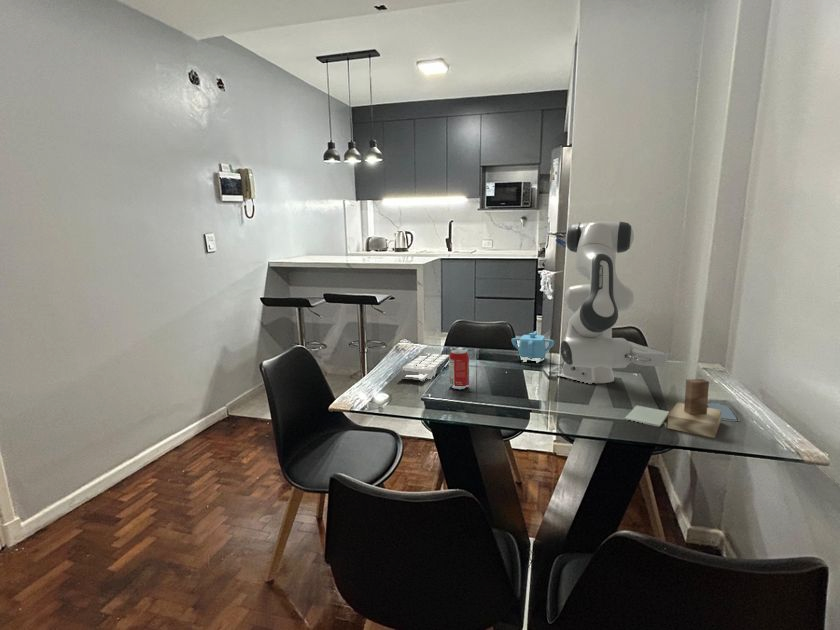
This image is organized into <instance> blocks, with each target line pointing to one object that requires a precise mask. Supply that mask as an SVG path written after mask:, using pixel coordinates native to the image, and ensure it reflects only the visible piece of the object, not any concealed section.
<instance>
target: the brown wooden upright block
mask: <svg viewBox="0 0 840 630" xmlns="http://www.w3.org/2000/svg"><path fill="white" fill-rule="evenodd" d="M709 384H710V381H709V380H705V379H703V378H699V379H698V378H694V379H690V378H689V379H685V389H684V390H685V391H684V392H685V393H684V404H685V405H684V411H685V412H686V413H688V414H690V415H699V414H707V402H708V401H709V398H708V397H709V386H710V385H709Z"/></svg>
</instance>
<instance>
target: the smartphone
mask: <svg viewBox="0 0 840 630" xmlns="http://www.w3.org/2000/svg"><path fill="white" fill-rule="evenodd" d="M719 403H720V402H707V408H713V409H718V410H722V413H721V421H726V422H735V421H739V422H740V418H739V417H738V416H737V414H736V412H735V410H734V409H733V408H732V407H731V408H728V407H726V406H724V405H720V404H719Z"/></svg>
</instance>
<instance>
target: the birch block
mask: <svg viewBox="0 0 840 630" xmlns="http://www.w3.org/2000/svg"><path fill="white" fill-rule="evenodd" d="M684 405H685V402H684V403H683V402H679V401H678V402H676V404H675V405H674V406H673V408H672V409H671V411H669V415H668V416H667V427H666V428H667V429H670V430H675V431H679V432H683V433H684V432H685V433H690V434H693V435H694V434H695V435H699V436H704V437H708V438H713V439H715V438H716V436H717V433H718V430H719V429H720V428H719V427H720V426H721V423H722V420H721V413H722V410H718V409H713V408H707V414H699V415H690V414H688V413H686V412H685V411H684Z"/></svg>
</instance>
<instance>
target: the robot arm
mask: <svg viewBox="0 0 840 630" xmlns="http://www.w3.org/2000/svg"><path fill="white" fill-rule="evenodd" d="M634 236H635V235H634V231H633V227H632V225H631V224H630V223H629V222H624V221H619V222H618V221H606V220H605V221H602V220H600V221H589V222H574V223H572V224H571V225H570V226H569V227H568V228H567V231H566V234H565V244H566V247H567V249H568V250H569V251H570V252H572V253H576V256H575V265H576V266H575V267H576V268H575V269H576V270H577V272H578V273H579V274H580V275H582V276H583V277H584V278H587V279H588V280H589V284H584V283H583V284H576V285H571V286H569V287H568V288H567V289H566V291H565V293H564V302H565V305H566V306H567V308H568V309H569V310H571V312H573V313H572V315H571V317H570V318H569V319H568V321H567V324H566V328H567V329H566V334H565V336H564V339H563V340H562V341H561V343H560V348H559V349H560V356H561V358H562V359H563V361H564V363H563V365H562V369H561V370H562V373H561V374H557V373H556V376H557V375H559V376H562V377H566V378H570V379H573V380H577V381H580V382H579V383H582V382H584V383H583V384H586V383H588V384H587V385H593V384H592V383H595V384H607V383H609V384H610V383H612V382H614V381H615V378H614V372H613V369H624V368H626V367H628V365H630V364H631V363H633V364H636V365H638V366H646V367H665V366H666V365H667V361H673V360H674V359H675V354H674V353H671V352H662V351H659V350H656V348H655V347H653V346H645V345H641V344H638V343H635V342H633V341H628V340H627V339H625V338H624V337H613V335H612V334H613V328H612V327H613V326H614V325H615V324H616V323H617V321H618V318H619V312H625V311H628V310H629V309H630V308H631V307H633V305H634V300H635V297H634V293H633V290H632V288H630V287H629V285H628V286H627V285H626V284H624V283H623V282H622V281H621V280H620V279H619V277H618V275H617V270H616V256H617V255H616V253H617V254H620V253H624V252H627V251H628V250H630V249H631V248H630V247H632V244H633V242H634V238H635V237H634ZM573 380H572V381H573ZM577 381H576V382H577Z"/></svg>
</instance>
